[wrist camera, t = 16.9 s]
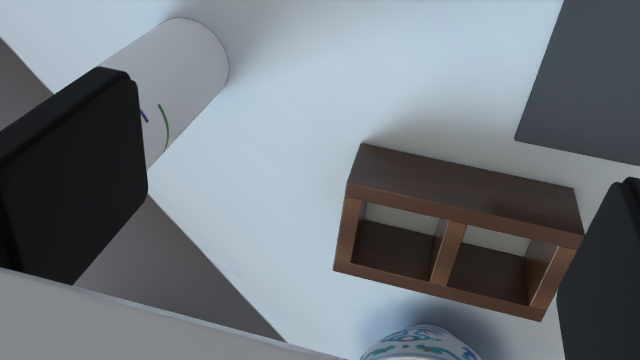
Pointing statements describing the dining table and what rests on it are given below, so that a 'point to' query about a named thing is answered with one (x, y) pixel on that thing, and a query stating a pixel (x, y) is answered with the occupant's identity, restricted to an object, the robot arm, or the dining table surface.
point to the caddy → (458, 232)
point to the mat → (589, 83)
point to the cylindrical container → (172, 78)
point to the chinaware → (420, 346)
